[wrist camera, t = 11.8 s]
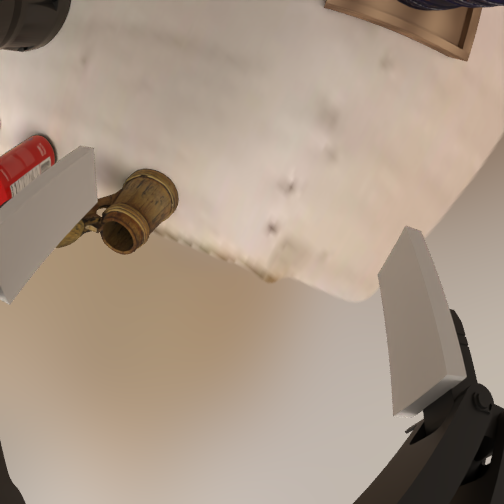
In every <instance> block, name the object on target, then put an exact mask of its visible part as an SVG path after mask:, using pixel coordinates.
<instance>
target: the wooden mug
mask: <svg viewBox="0 0 504 504" xmlns="http://www.w3.org/2000/svg"><path fill="white" fill-rule="evenodd" d="M177 205H178V194H177V190H176V188H175V186H174V184H173V183H172V182H171V180H170V179H169V178H168V177H166V176H165V175H164V174H162V173H160V172H158V171H154V170H147V169H143V170H139V171H136V172H135V173H133V174H132V175H131V176H130V177H129V178H128V179H127V180H126V181H125V183H124V185H123V188H122V189H121V190H119V191H118V192H117V193H115V194H112V195H110V196H106V197H103V198H100V199H98V202H97V203H96V204H95V205H94V206H93V207H92V208H91V209H90V210H89V212H88V213H87V214H86V215H85V216H84V217H83V218H82V219H81V220H80V221H79V222H78V223H77V224H76V225H75V226H74V227H73V229H72V230H71V231H70V232H69V233H68V234H67V235H66V236H65V237H64V238H63V240H62V241H61V242H60V243H59V244H58V245H57V246H56V248H60V247H64V246H67V245H70V244H71V243H73V242H75V241H76V240H77V239H78V238H79V237H80V236H82V235H83V234H84V233H86V232H90V231H94V232H96V233H99V232H100V233H101V237H102V239H103V241H104V243H105V244H106V245H107V246H108V247H109V248H110V249H112V250H113V251H115V252H117V253H120V254H130V253H132V252H134V251H135V250H136V249H138V248H139V247H141V246H142V245H143V244H145V243H146V241H147V240H148V238H149V235H150V234H151V233H152V232H153V231H154V229H155V228H156V227H157V226H158V225H159V224H160V223H161V222H163V221H164V220H166V219H167V218H169V217H170V215H171V214H172V213H173V212H174V211H175V210H176V207H177ZM101 208H107V209H106V210H105V211H104V212H103V213H102V217H100V216H99V215H97V214H96V211H97V210H98V209H101Z"/></svg>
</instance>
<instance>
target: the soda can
mask: <svg viewBox="0 0 504 504" xmlns="http://www.w3.org/2000/svg"><path fill="white" fill-rule="evenodd" d="M54 164H55V155H54V151H53V148H52V146H51V145H50V143H49V142H48V141H47V140H46V139H45V138H44V137H42V136H40V135H34V136H31V137H30V138H28V139H26V140H25V141H23V142H22V143H20V144H18V145H17V146H15V147H14V148H12V149H11V150H9V151H8V152H6V153H5V154H3V155H2V156H0V206H1V205H2V204H3V203H4V202H5V201H7V200H9V199H11V198H13V197H14V196H15V195H16V194H17V193H18V192H20V191H21V190H22V189H23V188H24V187H26V186H27V185H28V184H29V183H31V182H32V181H33V180H34V179H36V178H37V177H38V176H39V175H41V174H42V173H43V172H45V171H46V170H47V169H49V168H50V167H51V166H53V165H54Z"/></svg>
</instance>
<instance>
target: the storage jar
mask: <svg viewBox="0 0 504 504" xmlns="http://www.w3.org/2000/svg"><path fill="white" fill-rule="evenodd" d="M397 1H399V2H400V3H402V4H404V5H406V6H408V7H411V8H414V9H418V10H424V11H432V10H436V11H439V10H449V9H455V8H459V7H461V6H462V7H469V8H479V7H494V6H504V0H397Z"/></svg>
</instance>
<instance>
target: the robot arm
mask: <svg viewBox="0 0 504 504" xmlns="http://www.w3.org/2000/svg"><path fill="white" fill-rule="evenodd" d="M69 6H70V0H0V49H4V50H13V51H21V52H24V51H30V50H33V49H37V48H40V47H42V46H44V45H45V44H47V43H48V42H49V41H50V40H52V39H53V37H54V36H55V35H56V34H57V33H58V31H59V30H60V28H61V26H62V25H63V23H64V20H65V18H66V16H67V13H68V10H69ZM97 202H98V198H97V187H96V175H95V160H94V148H91V147H84V146H79V147H78V148H77V149H75V150H74V151H72V152H71V153H69V154H68V155H66V156H65V157H64V158H62V159H61V160H59V161H58V162H57V163H55V164H54V165H53V166H51V167H50V168H49V169H47V170H46V171H45V172H43V173H42V174H41V175H39V176H38V177H37V178H36V179H34V180H33V181H32V182H31V183H29V184H28V185H27V186H26V187H24V188H23V189H22V190H21V191H20V192H18V193H17V194H16V195H15V196H14V197H13V198H11V199H9V200H7V201H5V202H4V203H3V204H2V205H1V206H0V300H2V301H4V302H6V303H7V304H9V305H10V304H11V303H12V301H13V300H14V299H15V297H16V296H17V295H18V293H19V292H20V290H21V289H22V288H23V287H24V285H25V284H26V283H27V282H28V280H29V279H30V278H31V277H32V275H33V274H34V273H35V271H36V270H37V269H38V268H39V267H40V265H41V264H42V263H43V262H44V261H45V259H46V258H47V257H48V256H49V255H50V253H51V252H52V251H53V250H54V249H55V248H56V246H57V245H58V244H59V243H60V242H61V241H62V240H63V238H64V237H65V236H66V235H67V234H68V233H69V232H70V231H71V230H72V229H73V227H74V226H75V225H76V224H77V223H78V222H79V221H80V220H81V219H82V218H83V217H84V216H85V215H86V214H87V213H88V212H89V210H90V209H91V208H92V207H93V206H94V205H95V204H96V203H97ZM378 279H379V285H380V291H381V297H382V304H383V311H384V318H385V326H386V333H387V342H388V352H389V362H390V373H391V386H392V402H393V416H395V417H410V418H412V417H414V416H415V415H417V414H418V413H420V412H421V411H423V413H424V419H423V420H421V421H419V422H418V423H416V424H415V425H413V426H412V427H410V428H408V429H407V431H405V433H409V432H410V431H412V430H413V431H412V433H411V434H410V436H409V437H408V438H407V440H406V441H405V442H404V444H403V445H402V447H401V448H400V449H399V450H398V452H397V453H396V454H395V456H394V457H393V458H392V460H391V461H390V462H389V463H388V465H387V466H386V467H385V468H384V469H383V471H382V472H381V473H380V474H379V475H378V476H377V478H376V479H375V480H374V481H373V482H372V483H371V485H370V486H369V487H368V488H367V489H366V490H365V491H364V492H363V493H362V494H361V496H360V497H359V498H358V499H357V500H356V501H355V502H354V503H353V504H504V409H503V408H501V407H499V406H497V405H495V404H494V401H493V398H492V396H491V393H490V392H489V390H488V389H487V388H486V387H485V386H483V385H482V384H478V383H477V380H476V374H475V370H474V366H473V362H472V358H471V354H470V350H469V347H468V343H467V339H466V337H465V332H464V328H463V325H462V322H461V320H460V319H459V317H458V315H457V314H456V312H455V311H454V310H451V309H449V307H448V303H447V300H446V297H445V294H444V291H443V288H442V285H441V282H440V279H439V276H438V273H437V271H436V268H435V265H434V262H433V260H432V257H431V255H430V252H429V249H428V247H427V244H426V242H425V239H424V237H423V234H422V232H421V231H420V230H417V229H414V228H411V227H408V226H405V228H404V230H403V231H402V233H401V235H400V237H399V239H398V241H397V242H396V244H395V246H394V248H393V249H392V251H391V253H390V255H389V256H388V258H387V260H386V262H385V263H384V265H383V267H382V268H381V270H380V272H379V273H378ZM491 455H492V458H491V462H490V463H489V464H487V465H485V460H486V458H487V457H489V456H491ZM0 504H25V501H24V499H23V497H22V495H21V493H20V491H19V490H18V488H17V487H16V486H15V485H14V484H13V483H12V481H11V479H10V477H9V474H8V471H7V467H6V463H5V459H4V455H3V451H2V447H1V442H0Z"/></svg>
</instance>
